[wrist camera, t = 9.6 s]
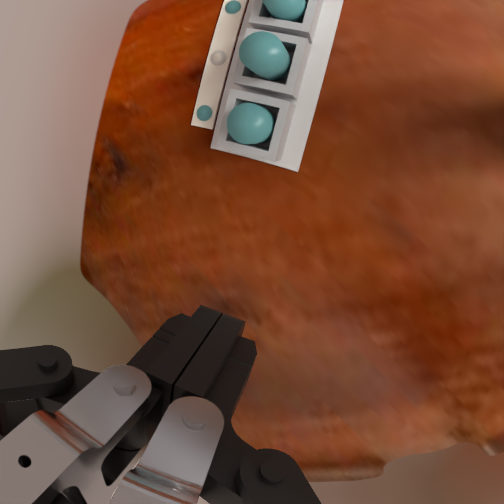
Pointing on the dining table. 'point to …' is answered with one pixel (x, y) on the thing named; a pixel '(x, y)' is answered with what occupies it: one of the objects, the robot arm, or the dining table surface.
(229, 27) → the card
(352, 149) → the dining table surface
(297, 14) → the button
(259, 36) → the button
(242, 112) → the button
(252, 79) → the board
